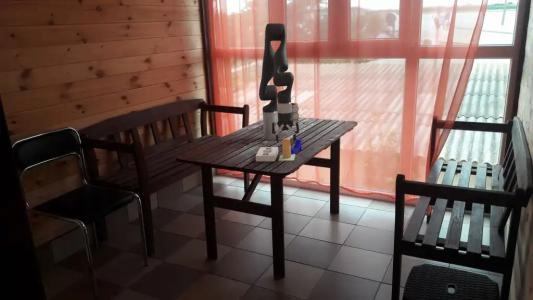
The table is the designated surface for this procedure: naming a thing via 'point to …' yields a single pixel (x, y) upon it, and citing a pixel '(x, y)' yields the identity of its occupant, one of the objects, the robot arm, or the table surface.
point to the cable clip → (297, 146)
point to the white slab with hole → (267, 154)
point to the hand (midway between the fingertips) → (286, 141)
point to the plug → (286, 148)
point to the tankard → (295, 112)
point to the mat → (286, 158)
